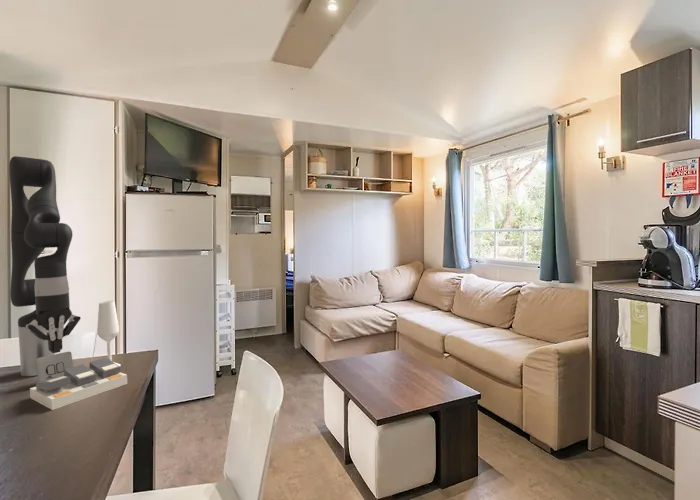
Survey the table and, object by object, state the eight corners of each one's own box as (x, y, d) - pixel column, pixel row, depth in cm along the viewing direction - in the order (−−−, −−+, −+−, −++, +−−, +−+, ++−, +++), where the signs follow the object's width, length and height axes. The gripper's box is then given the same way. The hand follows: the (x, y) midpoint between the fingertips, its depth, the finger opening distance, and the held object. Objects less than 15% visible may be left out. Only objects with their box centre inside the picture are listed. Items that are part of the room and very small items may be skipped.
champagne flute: (97, 371, 128) (94, 304, 127) (99, 366, 134) (96, 301, 132) (120, 368, 131) (117, 302, 130) (121, 362, 137) (118, 299, 136)
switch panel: (30, 398, 108) (29, 385, 107) (104, 375, 125) (103, 364, 125) (52, 410, 100) (51, 397, 100) (127, 383, 117) (127, 372, 117)
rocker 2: (89, 368, 118) (89, 361, 118) (106, 363, 123) (106, 356, 122) (103, 377, 114) (103, 371, 114) (120, 372, 118) (120, 366, 118)
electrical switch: (39, 388, 115) (37, 359, 115) (35, 386, 118) (33, 357, 118) (75, 379, 122) (73, 351, 122) (70, 377, 125) (68, 350, 125)
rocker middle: (64, 375, 112) (64, 368, 112) (82, 370, 117) (82, 363, 116) (77, 386, 108) (77, 379, 108) (96, 380, 112) (96, 373, 112)
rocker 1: (36, 389, 106) (35, 381, 106) (56, 382, 111) (56, 375, 111) (49, 390, 102) (48, 382, 102) (69, 383, 106) (68, 375, 106)
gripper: (73, 288, 111) (76, 344, 112) (17, 295, 100) (20, 357, 100) (84, 290, 107) (88, 347, 108) (28, 297, 96) (31, 361, 97)
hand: (55, 352), depth 104 cm, fingers closed
